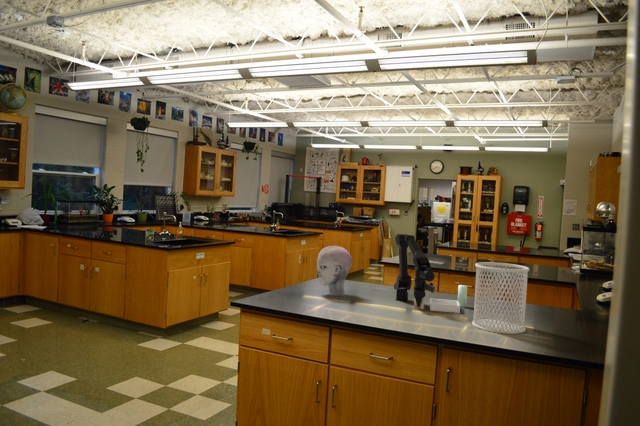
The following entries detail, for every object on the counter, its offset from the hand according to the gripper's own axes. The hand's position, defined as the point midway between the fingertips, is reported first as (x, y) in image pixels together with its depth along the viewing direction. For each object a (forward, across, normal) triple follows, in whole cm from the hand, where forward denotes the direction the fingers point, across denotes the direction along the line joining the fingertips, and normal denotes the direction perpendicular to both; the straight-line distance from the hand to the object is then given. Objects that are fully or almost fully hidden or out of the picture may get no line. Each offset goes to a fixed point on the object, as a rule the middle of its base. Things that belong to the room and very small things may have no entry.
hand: (418, 306), depth 261 cm
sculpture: (+1, +17, +52) cm, 55 cm away
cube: (+1, 0, 0) cm, 1 cm away
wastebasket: (+1, -26, -38) cm, 46 cm away
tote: (+1, +3, -14) cm, 14 cm away
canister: (+1, +14, -24) cm, 28 cm away
